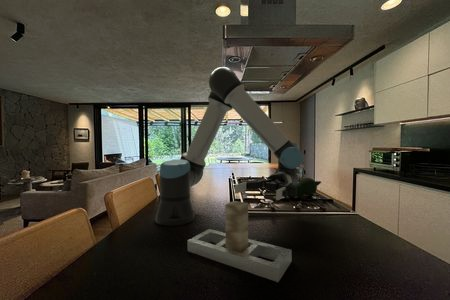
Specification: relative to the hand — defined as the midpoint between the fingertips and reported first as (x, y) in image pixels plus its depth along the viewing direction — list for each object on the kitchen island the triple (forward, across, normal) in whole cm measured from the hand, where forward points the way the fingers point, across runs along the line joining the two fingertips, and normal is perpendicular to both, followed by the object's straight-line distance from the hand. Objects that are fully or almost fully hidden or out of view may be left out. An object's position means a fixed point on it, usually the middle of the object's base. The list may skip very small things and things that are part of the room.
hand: (255, 192), depth 66 cm
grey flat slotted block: (+10, 0, -16) cm, 18 cm away
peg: (+10, 0, -16) cm, 18 cm away
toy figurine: (-64, +3, -15) cm, 66 cm away
